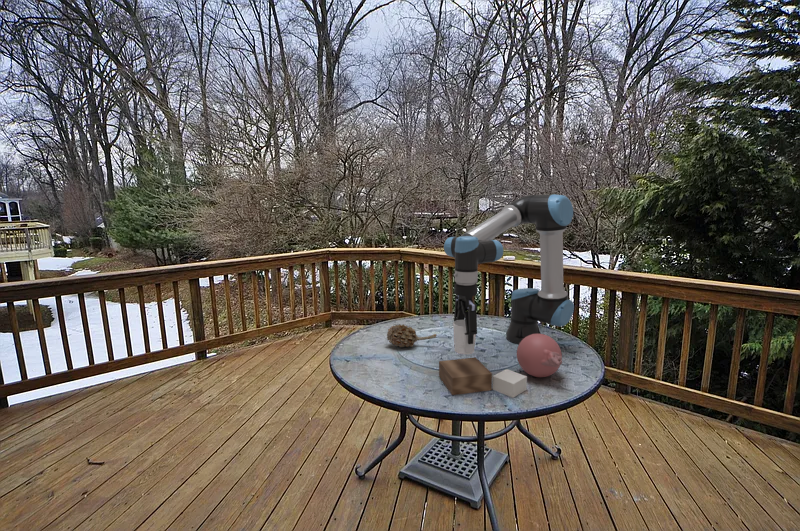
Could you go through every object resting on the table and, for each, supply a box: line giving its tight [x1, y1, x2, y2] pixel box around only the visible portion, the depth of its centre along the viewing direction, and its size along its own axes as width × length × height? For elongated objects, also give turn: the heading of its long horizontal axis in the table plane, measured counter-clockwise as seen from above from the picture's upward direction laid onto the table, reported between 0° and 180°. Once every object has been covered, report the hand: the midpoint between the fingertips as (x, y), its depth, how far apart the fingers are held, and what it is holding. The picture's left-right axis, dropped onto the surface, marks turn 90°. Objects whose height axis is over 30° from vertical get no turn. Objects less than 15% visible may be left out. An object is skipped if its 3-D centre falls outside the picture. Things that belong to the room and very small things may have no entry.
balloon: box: [516, 333, 563, 378], centre depth 144 cm, size 15×20×15 cm
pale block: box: [492, 368, 528, 398], centre depth 137 cm, size 8×8×5 cm
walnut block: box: [438, 357, 493, 396], centre depth 141 cm, size 14×14×6 cm
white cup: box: [452, 319, 477, 355], centre depth 139 cm, size 8×8×10 cm
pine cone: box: [386, 324, 437, 348], centre depth 176 cm, size 22×10×10 cm, turn 92°
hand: (464, 347), depth 140 cm, fingers closed on white cup, 8 cm apart
